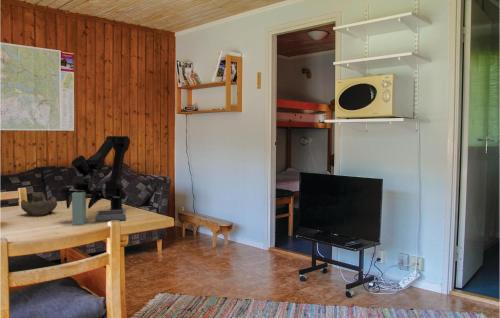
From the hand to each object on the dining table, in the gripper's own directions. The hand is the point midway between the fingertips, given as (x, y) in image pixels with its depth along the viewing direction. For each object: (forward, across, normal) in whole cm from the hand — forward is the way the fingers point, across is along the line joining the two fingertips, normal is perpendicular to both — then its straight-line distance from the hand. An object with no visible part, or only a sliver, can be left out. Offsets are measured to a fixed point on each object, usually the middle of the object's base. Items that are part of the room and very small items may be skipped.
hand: (78, 208), depth 187 cm
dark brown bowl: (-11, -28, +22) cm, 37 cm away
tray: (-4, +10, +14) cm, 18 cm away
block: (+4, 0, +6) cm, 7 cm away
